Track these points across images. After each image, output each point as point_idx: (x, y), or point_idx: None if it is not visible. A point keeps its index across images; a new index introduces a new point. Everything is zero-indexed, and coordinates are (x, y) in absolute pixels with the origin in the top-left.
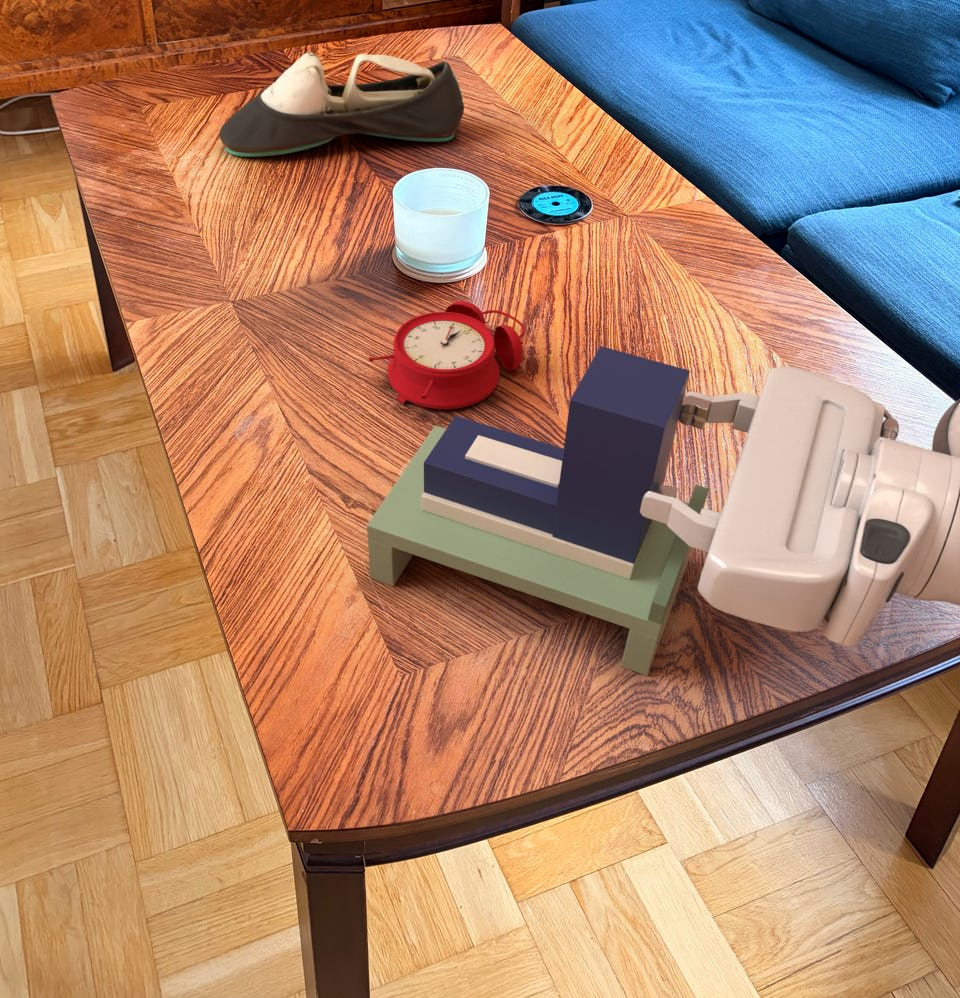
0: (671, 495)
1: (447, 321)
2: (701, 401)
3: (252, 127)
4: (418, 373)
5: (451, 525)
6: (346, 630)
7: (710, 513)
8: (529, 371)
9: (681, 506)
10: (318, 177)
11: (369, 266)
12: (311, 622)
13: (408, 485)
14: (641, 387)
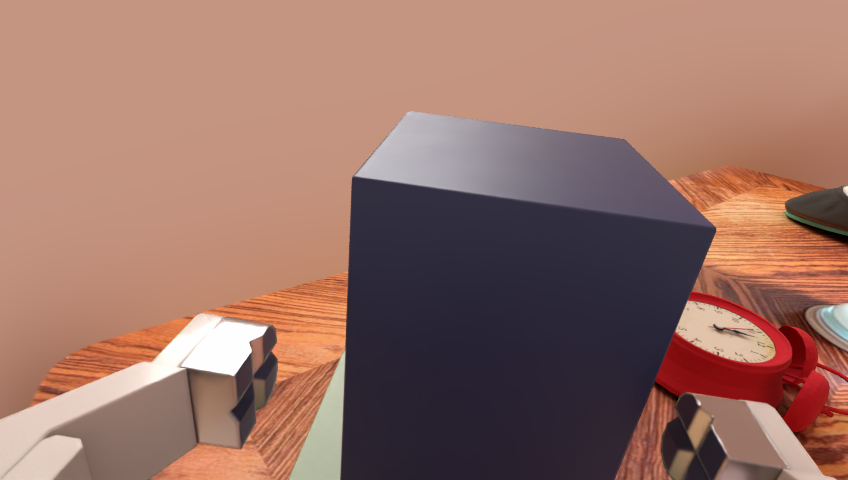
0: (194, 358)
1: (756, 327)
2: (751, 434)
3: (815, 199)
4: None
5: None
6: (294, 351)
7: (34, 473)
8: (810, 454)
9: (123, 380)
10: (837, 252)
11: (779, 294)
12: (302, 328)
13: None
14: (524, 163)
